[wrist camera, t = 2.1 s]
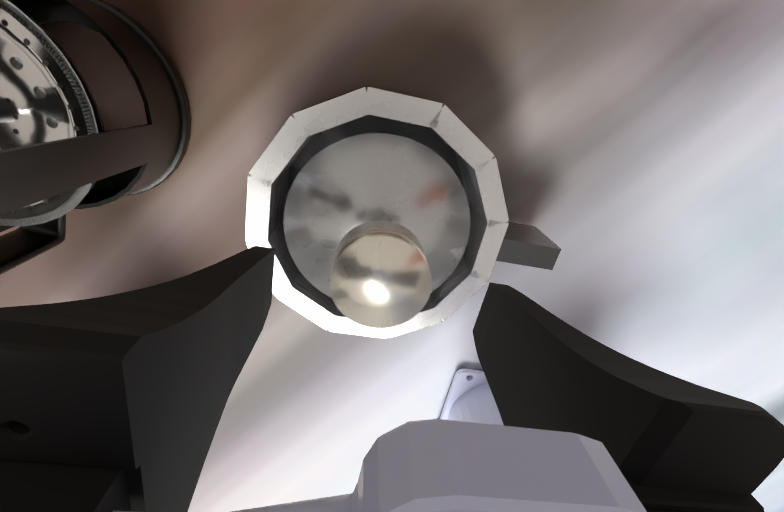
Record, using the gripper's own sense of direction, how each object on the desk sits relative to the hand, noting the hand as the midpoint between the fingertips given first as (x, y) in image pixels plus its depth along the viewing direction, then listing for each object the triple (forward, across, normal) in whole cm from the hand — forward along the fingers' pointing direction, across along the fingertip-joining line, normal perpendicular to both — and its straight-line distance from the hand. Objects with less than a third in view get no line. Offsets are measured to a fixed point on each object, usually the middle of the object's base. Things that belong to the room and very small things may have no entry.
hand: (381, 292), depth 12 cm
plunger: (+7, 0, 0) cm, 7 cm away
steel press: (+10, -2, 0) cm, 10 cm away
